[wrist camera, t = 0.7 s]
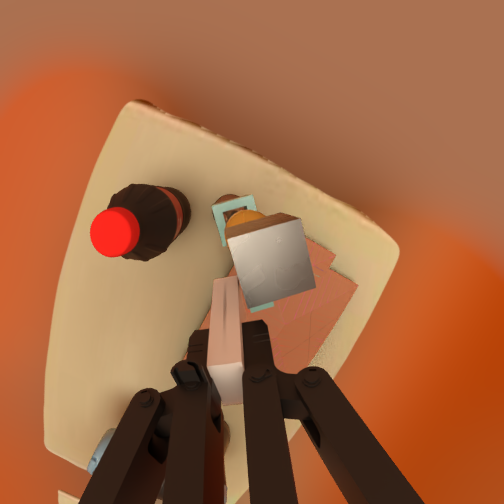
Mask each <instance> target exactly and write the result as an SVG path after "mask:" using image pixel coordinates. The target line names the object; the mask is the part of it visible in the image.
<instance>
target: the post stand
mask: <svg viewBox="0 0 504 504" xmlns="http://www.w3.org/2000/svg"><path fill="white" fill-rule="evenodd" d="M238 197H239V196H237V195H231V194H230V195H225V196H222V197H221V198H219V199H218V200H217V201H216V203H215V204H217V203H220V202H224V201H227V200H231V199H234V198H238ZM223 216H224V219H225V223H226V226H225V228H224V229H225V231H224V235H225V240H226V244H227V246H228V248H229V250H230V251H231V255H232V258H233V261H234V265H235V268H236V272H237V275H238V278H239V282H240V285H241V288H242V292H243V295H244V298H245V302H246V305H247V308H248V309H250V308H253V307H257V306H260V305H263V304H266V303H270V302H273V301H276V300H280V299H283V298H286V297H289V296H292V295H295V294H299V293H302V292H305V291H308V290H311V289H314V288H316V284H315V279H314V274H313V270H312V265H311V261H310V256H309V252H308V247H307V243H306V239H305V235H304V230H303V226H302V222H301V218H298V217H294V216H291V215H287V214H284V213H277V214H274V215H270V216H265V215H263V214H262V213H260V212H257V211H254V210H244V207H239V208H236V209H232V210H229V211H225V212H223ZM213 217H214V213H213ZM214 220H215V217H214ZM215 221H216V220H215Z"/></svg>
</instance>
